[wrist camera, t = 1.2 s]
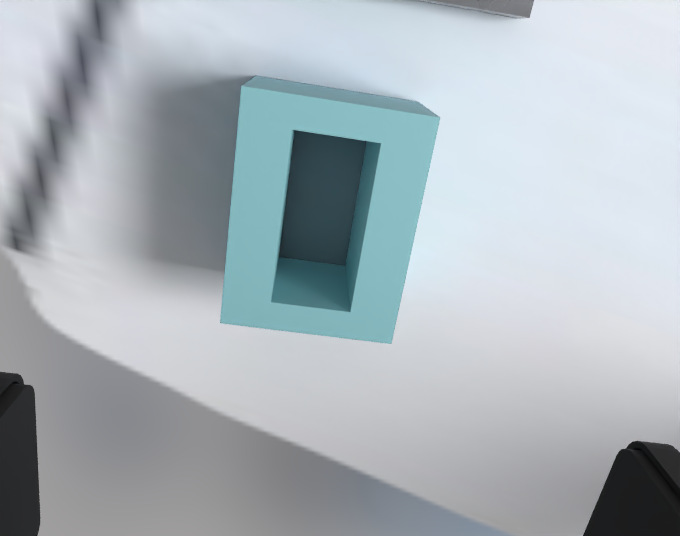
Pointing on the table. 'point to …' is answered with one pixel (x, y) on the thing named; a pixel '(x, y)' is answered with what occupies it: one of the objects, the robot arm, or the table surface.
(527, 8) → the key base
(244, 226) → the block with rectangular hole
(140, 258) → the table surface
